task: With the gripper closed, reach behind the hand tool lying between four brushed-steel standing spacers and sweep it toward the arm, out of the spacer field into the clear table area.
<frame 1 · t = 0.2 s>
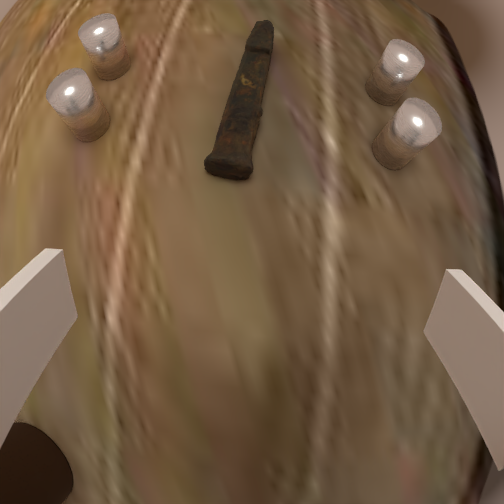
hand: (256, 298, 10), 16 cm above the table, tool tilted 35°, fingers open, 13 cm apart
spacer d: (114, 67, 29), on the table
hand tool: (242, 99, 30), on the table
spacer c: (92, 125, 28), on the table
spacer a: (389, 152, 29), on the table
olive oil: (36, 461, 22), on the table
spacer b: (381, 91, 31), on the table
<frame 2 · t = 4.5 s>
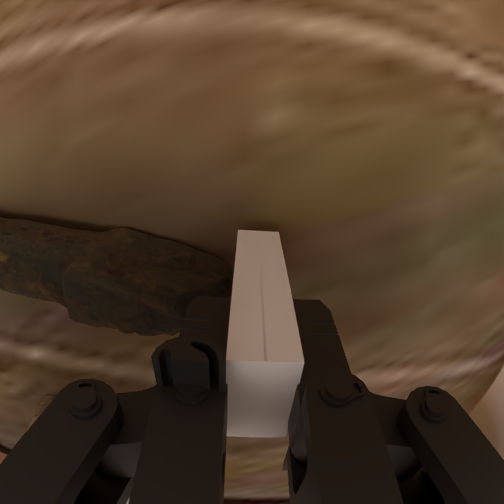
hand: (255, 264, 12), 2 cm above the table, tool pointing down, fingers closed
hand tool: (48, 227, 14), on the table, touching gripper
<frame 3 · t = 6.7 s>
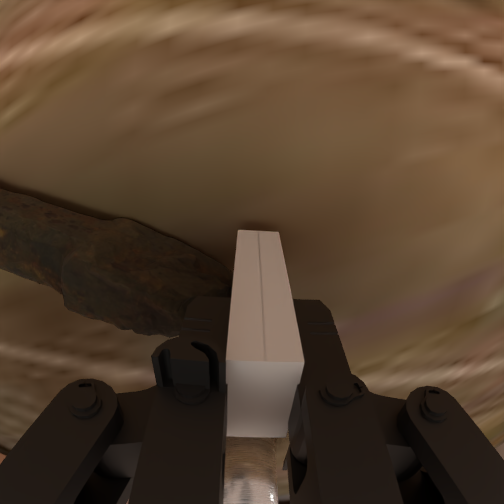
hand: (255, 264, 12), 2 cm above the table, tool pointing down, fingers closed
hand tool: (48, 206, 13), on the table, touching gripper
spacer a: (246, 439, 20), on the table
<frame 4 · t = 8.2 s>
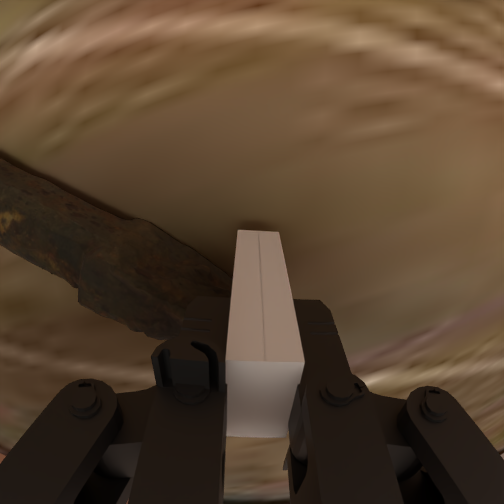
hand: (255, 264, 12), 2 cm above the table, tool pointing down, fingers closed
hand tool: (64, 193, 13), on the table, touching gripper
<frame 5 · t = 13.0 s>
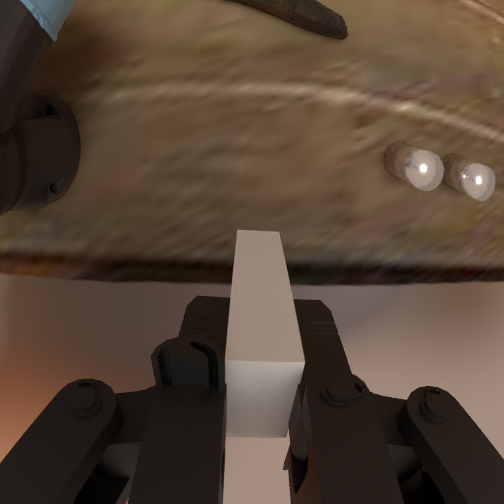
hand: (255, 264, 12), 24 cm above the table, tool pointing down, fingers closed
spacer a: (399, 159, 34), on the table
spacer b: (451, 169, 34), on the table
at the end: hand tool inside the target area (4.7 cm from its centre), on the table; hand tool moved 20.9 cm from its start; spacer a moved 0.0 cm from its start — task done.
